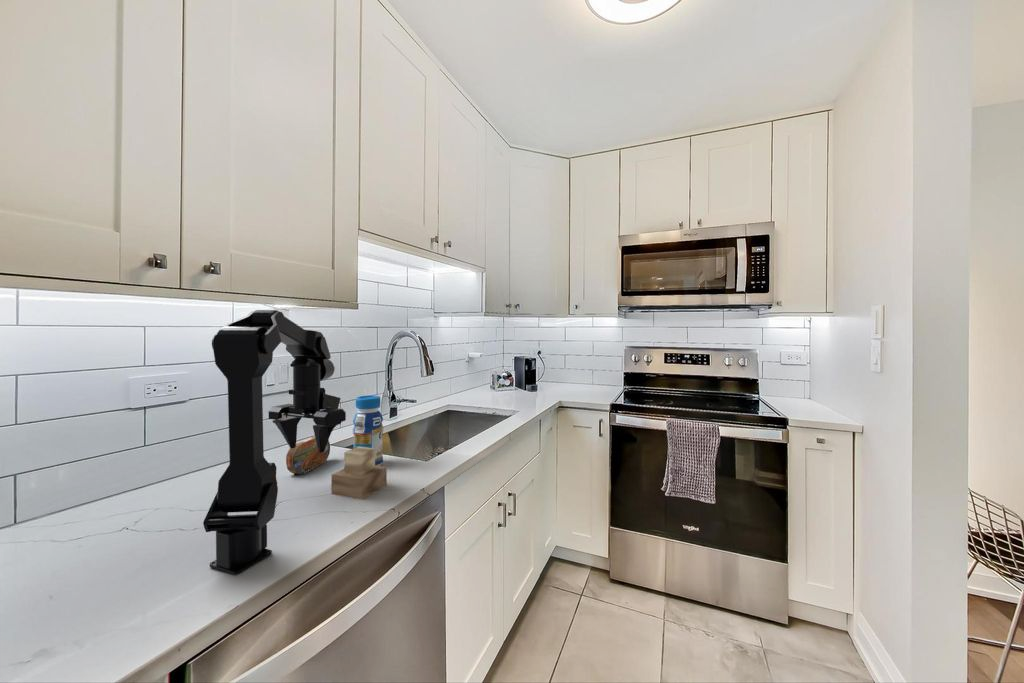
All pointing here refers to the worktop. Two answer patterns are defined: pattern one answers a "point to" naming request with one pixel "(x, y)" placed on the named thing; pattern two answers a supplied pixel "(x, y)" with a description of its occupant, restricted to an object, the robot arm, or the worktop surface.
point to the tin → (306, 456)
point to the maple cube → (359, 460)
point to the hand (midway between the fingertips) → (307, 450)
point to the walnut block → (358, 482)
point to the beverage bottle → (369, 425)
